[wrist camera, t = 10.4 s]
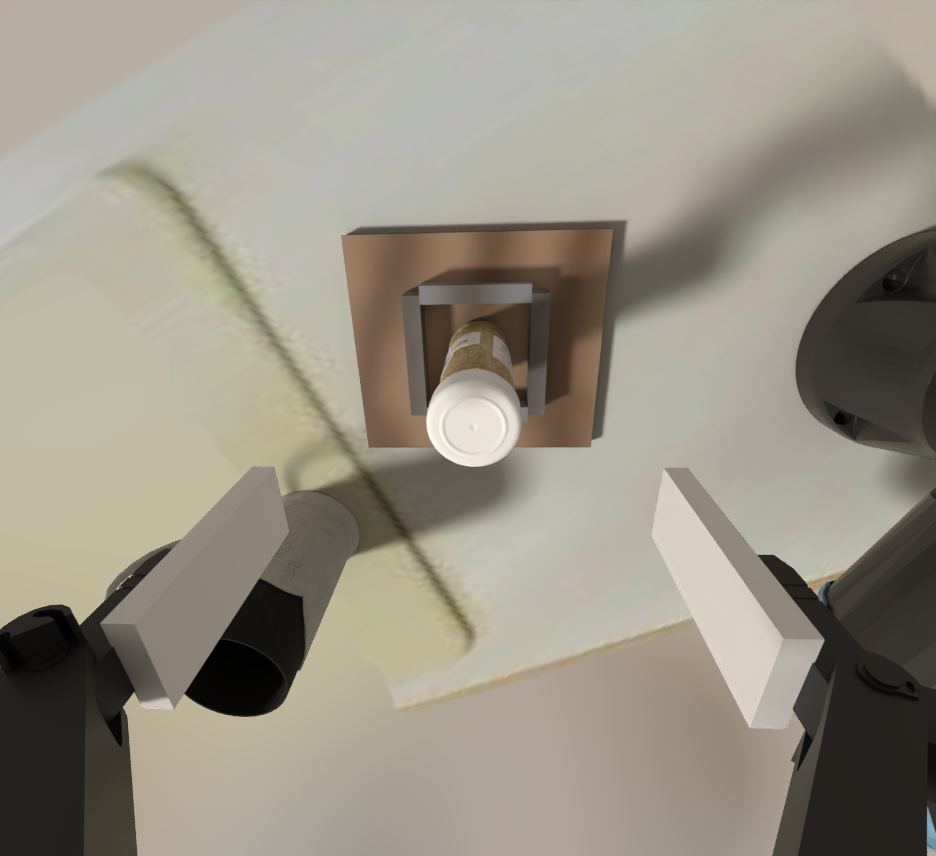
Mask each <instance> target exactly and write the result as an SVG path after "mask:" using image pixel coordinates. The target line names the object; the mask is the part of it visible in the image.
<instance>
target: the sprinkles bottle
mask: <svg viewBox="0 0 936 856" xmlns="http://www.w3.org/2000/svg"><path fill="white" fill-rule="evenodd" d="M426 425H427V432H428V435H429V438H430V440H431V442H432V444H433V445H434V447H435V448H436V449H437V450H438V452H440V453H441V454H442V455H443V456H444V457H445V458H447V459H449V460H450V461H452V462H454V463H457V464H460V465H464V466H472V467H478V466H486V465H490V464H492V463H495V462H497V461H499V460H501V459H502V458H504V457H505V456H506V455H507V454H509V453H510V452H511V450H512V449H513V448H514V447H515V445H516V443H517V442H518V440H519V437H520V434H521V429H522V413H521V406H520V402H519V398H518V396H517V394H516V392H515V382H514V376H513V369H512V362H511V357H510V345H509V342H508V340H507V337H506V336H505V334H504V333H503V332H502V331H501V330H500V329H499V328H498V327H497V326H495V325H493V324H492V323H489V322H487V321H474V322H470V323H467V324H465V325H463V326H462V327H461V328H459V329H458V330H457V331H456V333H455V334H454V335H453V337H452V338H451V341H450V345H449V352H448V354H447V357H446V361H445V365H444V368H443V372H442V375H441V380H440V384H439V386H438V387H437V388H436V390H435V391H434V393H433V396H432V398H431V401H430V404H429V408H428V412H427V418H426Z"/></svg>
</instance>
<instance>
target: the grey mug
mask: <svg viewBox="0 0 936 856" xmlns="http://www.w3.org/2000/svg"><path fill="white" fill-rule="evenodd" d="M281 498H282V502H283V507H284V511H285V515H286V520H287V524H288V528H289V533H288V535H287V536H286V538H285V539H284V541H283V542H282V544H281V545H280V547H279V549H278V550H277V552H276V553H275V555H274V556H273V558H272V559H271V561H270V562H269V564H268V565H267V567H266V569H265V570H264V572H263V573H262V575H261V576H260V578H259V579H258V581H257V582H256V584H255V585H254V587H253V589H252V590H251V592H250V593H249V595H248V596H247V598H246V599H245V601H244V602H243V604H242V605H241V607H240V609H239V610H238V612H237V613H236V615H235V616H234V618H233V619H232V621H231V622H230V624H229V625H228V627H227V629H226V630H225V632H224V633H223V635H222V636H221V638H220V639H219V641H218V642H217V644H216V645H215V647H214V649H213V650H212V652H211V653H210V655H209V656H208V658H207V659H206V661H205V662H204V664H203V665H202V667H201V669H200V670H199V672H198V673H197V675H196V676H195V678H194V679H193V681H192V682H191V684H190V685H189V687H188V689H187V690H186V692H185V693H184V694H185V695H186V696H188V697H189V698H190V699H192V700H193V701H194V702H196V703H197V704H199V705H201V706H203V707H205V708H207V709H210V710H212V711H215V712H218V713H222V714H225V715H232V716H239V717H251V716H259V715H264V714H266V713H269V712H272V711H273V710H275V709H277V708H278V707H279V706H280V705H281V704H282V703H283V702H284V700H285V699H286V697H287V694H288V692H289V689H290V687H291V685H292V683H293V680H294V678H295V676H296V673H297V671H298V670H299V671H300V670H301V668H302V666H303V663H304V661H305V659H306V656H307V654H308V651H309V649H310V647H311V644H312V642H313V640H314V637H315V635H316V632H317V630H318V628H319V625H320V623H321V620H322V618H323V616H324V613H325V611H326V608H327V606H328V604H329V601H330V599H331V597H332V594H333V592H334V589H335V587H336V585H337V582H338V580H339V578H340V575H341V573H342V570H343V568H344V566H345V563H346V561H347V560H348V559H349V558H350V557H351V556H352V555H353V554H354V552H355V551H356V549H357V547H358V544H359V540H360V531H359V526H358V523H357V521H356V519H355V517H354V516H353V514H352V513H351V512H350V510H349V509H348V508H346V507H345V506H344V505H343V504H342V503H340V502H339V501H338V500H336V499H334V498H332V497H330V496H328V495H325V494H322V493H319V492H313V491H297V492H293V493H289V494H286V495H284V496H282V497H281ZM181 540H182V539H181ZM181 540H178V541H175V542H172V543H170V544H167V545H165V546H163V547H160V548H158V549H156V550H154V551H151V552H150V553H148V554H146V555H145V556H143V557H141V558H140V559H138V560H137V561H135V562H134V563H132V564H131V565H130V566H129V567H128V568H127V569H125V570H124V571H123V572H122V573H121V574H119V575H118V576H117V577H116V579H115V580H114V581H113V583H112V584H111V585H110V586H109V587H108V589H107V592H106V597H105V600H106V599H107V598H108V597H109V596H110V595H111V594H112V593H113V592H114V591H115V590H116V588H117V587H118V586H119V585H120V583H121V582H123V581H124V580H125V579H126V578H127V577H128V576H129V575H131V574H132V573H133V572H134V571H136V570H137V569H138V568H139V567H140V566H141V565H142V564H143V563H144V562H145V561H146V560H148V559H149V558H151V557H152V556H154V555H155V554H157V553H159V552H160V551H162V550H163V549H165V548H174V547H175V546H176V545H177V544H178V543H179V542H180V541H181Z"/></svg>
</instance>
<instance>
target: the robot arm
mask: <svg viewBox="0 0 936 856" xmlns="http://www.w3.org/2000/svg"><path fill="white" fill-rule="evenodd" d="M796 381H797V387H798V390H799V394H800V396H801V399H802V401H803V403H804V405H805V406H806V408H807V409H808V410H809V412H810V413H811V414H812V415H813V416H814V417H815V418H816V419H817V420H818V421H819V422H821V423H822V424H824V425H825V426H827V427H828V428H830V429H832V430H833V431H835V432H837V433H838V434H840V435H842V436H844V437H845V438H847V439H849V440H852V441H854V442H857V443H859V444H862V445H865V446H869V447H874V448H879V449H884V450H890V451H895V452H900V453H905V454H910V455H916V456H921V457H926V458H931V459H936V230H931V231H926V232H922V233H919V234H915V235H912V236H909V237H906V238H904V239H901V240H899V241H897V242H894V243H892V244H890V245H888V246H886V247H884V248H883V249H881V250H879V251H877V252H876V253H874V254H872V255H871V256H869V257H868V258H866V259H865V260H863V261H862V262H861V263H859V264H858V265H857V266H855V267H854V268H853V269H852V270H851V271H849V272H848V273H847V274H846V275H845V276H844V277H843V278H842V279H841V280H840V281H839V282H838V283H837V284H836V285H835V286H834V287H833V288H832V289H831V290H830V291H829V293H828V294H827V295H826V296H825V297H824V299H823V300H822V301H821V303H820V304H819V306H818V307H817V309H816V310H815V312H814V313H813V315H812V317H811V319H810V320H809V322H808V324H807V326H806V329H805V331H804V333H803V336H802V339H801V342H800V345H799V349H798V353H797V359H796ZM288 533H289V528H288V524H287V520H286V515H285V511H284V507H283V502H282V498H281V494H280V490H279V485H278V481H277V477H276V473H275V468H274V467H252V468H251V469H250V470H249V471H248V472H247V473H246V474H245V475H244V476H243V477H242V478H241V479H240V480H239V481H238V482H237V483H236V484H235V485H234V486H233V487H232V488H231V489H230V490H229V491H228V492H227V493H226V494H225V495H224V497H223V498H222V499H221V500H220V501H219V502H218V503H217V504H216V505H215V506H214V507H213V508H212V509H211V510H210V511H209V512H208V513H207V514H206V515H205V516H204V517H203V518H202V519H201V520H200V521H199V522H198V523H197V524H196V526H194V527H193V528H192V529H191V530H190V531H189V532H188V534H187V535H186V536H185V537H184V538H183V539H182V540H181V541H180V542H179V543H178V544H177V545H176V546H175V547H174V548H165V549H163V550H162V551H160V552H159V553H157V554H155V555H154V556H152V557H151V558H149V559H148V560H146V561H145V562H144V563H143V564H142V565H141V566H140V567H139V568H138V569H137V570H136V571H135V572H134V573H133V574H132V575H131V578H128V579H126V581H125V582H123V583H122V584H121V586H119V589H118V590H115V591H114V592H113V593H112V594H111V595H110V596H109V597H108V598H107V599H106V600H105V601H104V602H103V603H102V604H101V605H100V606H99V607H98V608H97V609H96V610H95V611H94V612H93V613H92V614H91V615H90V616H89V617H88V618H87V619H86V620H85V621H84V622H83V623H82V624H81V625H80V626H79V624H78V622H77V620H76V619H75V617H74V615H73V613H72V611H71V609H70V608H69V607H67V606H64V605H49V606H46V607H42V608H38V609H35V610H32V611H30V612H28V613H26V614H24V615H21V616H19V617H17V618H16V619H15V620H13V621H11V622H10V623H8V624H7V625H5V626H4V627H2V629H0V856H137V844H136V830H135V818H134V817H135V816H134V802H133V789H132V775H131V761H130V747H129V734H128V721H127V715H126V713H125V711H124V709H123V706H124V705H125V703H126V702H127V701H128V699H129V698H130V697H131V695H132V694H133V693H134V692H135V694H136V696H137V698H138V700H139V702H140V704H141V706H142V708H149V709H174V708H175V707H176V705H177V704H178V702H179V701H180V699H181V698H182V696H183V695H184V693H185V692H186V690H187V689H188V687H189V685H190V684H191V682H192V681H193V679H194V678H195V676H196V675H197V673H198V672H199V670H200V669H201V667H202V665H203V664H204V662H205V661H206V659H207V658H208V656H209V655H210V653H211V652H212V650H213V649H214V647H215V645H216V644H217V642H218V641H219V639H220V638H221V636H222V635H223V633H224V632H225V630H226V629H227V627H228V625H229V624H230V622H231V621H232V619H233V618H234V616H235V615H236V613H237V612H238V610H239V609H240V607H241V605H242V604H243V602H244V601H245V599H246V598H247V596H248V595H249V593H250V592H251V590H252V589H253V587H254V585H255V584H256V582H257V581H258V579H259V578H260V576H261V575H262V573H263V572H264V570H265V569H266V567H267V565H268V564H269V562H270V561H271V559H272V558H273V556H274V555H275V553H276V552H277V550H278V549H279V547H280V545H281V544H282V542H283V541H284V539H285V538H286V536H287V535H288ZM651 536H652V538H653V540H654V542H655V544H656V546H657V548H658V550H659V552H660V553H661V555H662V557H663V559H664V561H665V563H666V565H667V567H668V569H669V571H670V573H671V575H672V577H673V579H674V581H675V583H676V585H677V587H678V589H679V591H680V593H681V595H682V597H683V598H684V600H685V602H686V604H687V606H688V608H689V610H690V612H691V614H692V616H693V618H694V620H695V622H696V624H697V626H698V628H699V629H700V632H701V634H702V636H703V638H704V640H705V642H706V643H707V645H708V647H709V649H710V651H711V653H712V655H713V657H714V659H715V661H716V663H717V665H718V667H719V669H720V671H721V673H722V675H723V677H724V679H725V680H726V683H727V684H728V686H729V688H730V690H731V692H732V694H733V696H734V698H735V700H736V702H737V704H738V706H739V708H740V710H741V712H742V714H743V716H744V718H745V720H746V722H747V724H748V726H749V727H750V728H766V729H767V728H768V729H769V728H770V729H786V727H787V725H788V722H789V721H790V718H791V716H792V714H793V711H794V712H795V714H796V715H797V717H798V719H799V720H800V722H801V724H802V725H803V727H804V728H805V731H804V734H803V736H802V738H801V740H800V742H799V744H798V746H797V749H796V751H795V753H794V755H793V757H792V760H791V761H793V762H794V763H795V765H794V770H793V774H792V778H791V782H790V786H789V790H788V794H787V798H786V803H785V806H784V810H783V815H782V818H781V823H780V827H779V831H778V835H777V839H776V843H775V847H774V851H773V855H772V856H927V847H928V848H929V849H930V850H932V851H934V852H935V853H936V488H935V489H934V490H933V491H931V492H930V493H928V494H927V495H926V496H925V497H924V498H923V499H922V500H921V501H920V502H919V503H918V504H917V505H916V506H915V507H914V508H912V509H911V510H910V511H909V512H908V513H907V514H906V515H905V516H904V517H903V518H902V519H901V520H900V521H899V522H898V523H897V524H895V525H894V526H893V527H892V528H891V529H890V530H889V531H888V532H887V533H886V534H885V535H884V536H883V537H882V538H881V539H880V540H878V541H877V542H876V543H875V544H874V545H873V546H872V547H871V548H870V549H869V550H868V551H867V552H866V553H865V554H864V555H863V556H861V557H860V558H859V559H858V560H857V561H856V562H855V563H854V564H853V565H852V566H851V567H850V568H849V569H848V570H847V571H846V572H844V573H843V574H842V575H841V576H840V577H839V578H838V579H837V580H836V581H831V582H826V583H825V584H824V585H823V586H822V587H821V589H820V590H819V593H818V596H817V595H816V594H815V593H814V592H813V590H812V589H811V588H808V586H807V584H806V582H805V581H804V580H803V579H802V578H801V577H800V576H799V574H798V573H797V572H796V571H795V570H794V569H793V568H792V567H790V566H789V565H787V564H786V563H785V562H783V561H782V560H780V559H779V558H777V557H776V556H774V555H757V554H756V553H755V552H754V550H753V549H752V548H751V547H750V545H749V544H748V543H747V542H746V540H745V539H744V538H743V537H742V535H741V534H740V533H739V532H738V530H737V529H736V528H735V527H734V525H733V524H732V523H731V522H730V520H729V519H728V518H727V517H726V515H725V514H724V513H723V512H722V510H721V509H720V508H719V507H718V505H717V504H716V503H715V502H714V500H713V499H712V498H711V497H710V495H709V494H708V493H707V492H706V490H705V489H704V488H703V487H702V485H701V484H700V483H699V482H698V480H697V479H696V478H695V477H694V475H693V474H692V473H691V472H690V470H689V469H688V468H664V470H663V475H662V481H661V486H660V492H659V497H658V503H657V508H656V514H655V519H654V524H653V530H652V535H651Z"/></svg>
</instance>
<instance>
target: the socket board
mask: <svg viewBox="0 0 936 856" xmlns="http://www.w3.org/2000/svg"><path fill="white" fill-rule="evenodd" d="M612 236H613V229H571V230H530V231H489V232H448V233H407V234H367V235H341V238H342V246H343V253H344V261H345V269H346V276H347V284H348V292H349V299H350V307H351V315H352V322H353V330H354V338H355V345H356V353H357V361H358V368H359V376H360V383H361V391H362V399H363V406H364V414H365V422H366V429H367V437H368V445H369V447H434V445H433V444H432V442H431V440H430V438H429V435H428V432H427V425H426V418H427V412H428V408H429V404H430V401H431V398H432V396H433V393H434V391H435V390H436V388H437V387H438V386H439V384H440V380H441V375H442V372H443V368H444V365H445V361H446V357H447V354H448V352H449V345H450V341H451V338H452V337H453V335H454V334H455V333H456V331H457V330H458V329H459V328H461V327H462V326H463V325H465V324H467V323H470V322H474V321H487V322H489V323H492V324H493V325H495V326H497V327H498V328H499V329H500V330H501V331H502V332H503V333H504V334H505V336H506V337H507V340H508V342H509V345H510V357H511V362H512V369H513V376H514V382H515V392H516V394H517V396H518V398H519V402H520V406H521V413H522V429H521V434H520V437H519V440H518V442H517V443H516V445H515V447H591V440H592V430H593V420H594V411H595V401H596V391H597V382H598V372H599V362H600V353H601V343H602V333H603V324H604V314H605V304H606V295H607V285H608V275H609V266H610V256H611V246H612Z"/></svg>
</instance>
